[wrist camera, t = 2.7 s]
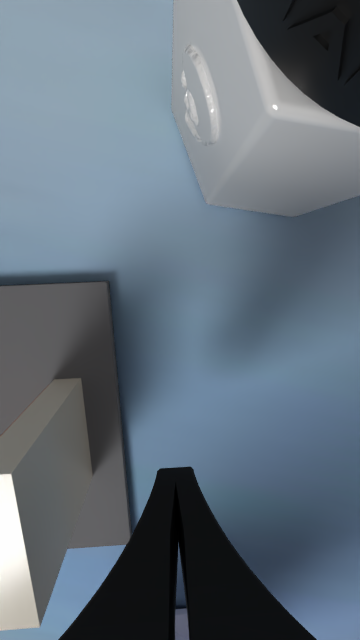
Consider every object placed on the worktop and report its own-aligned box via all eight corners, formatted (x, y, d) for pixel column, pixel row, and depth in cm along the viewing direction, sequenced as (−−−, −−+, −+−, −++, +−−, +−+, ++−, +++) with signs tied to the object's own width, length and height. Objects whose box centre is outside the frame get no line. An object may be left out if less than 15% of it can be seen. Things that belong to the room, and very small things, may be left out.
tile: (92, 475, 17) (39, 627, 10) (63, 477, 17) (-10, 631, 10) (81, 378, 15) (11, 473, 9) (49, 379, 15) (-46, 477, 8)
